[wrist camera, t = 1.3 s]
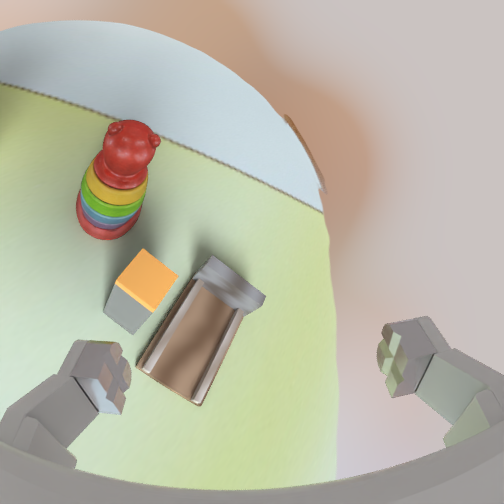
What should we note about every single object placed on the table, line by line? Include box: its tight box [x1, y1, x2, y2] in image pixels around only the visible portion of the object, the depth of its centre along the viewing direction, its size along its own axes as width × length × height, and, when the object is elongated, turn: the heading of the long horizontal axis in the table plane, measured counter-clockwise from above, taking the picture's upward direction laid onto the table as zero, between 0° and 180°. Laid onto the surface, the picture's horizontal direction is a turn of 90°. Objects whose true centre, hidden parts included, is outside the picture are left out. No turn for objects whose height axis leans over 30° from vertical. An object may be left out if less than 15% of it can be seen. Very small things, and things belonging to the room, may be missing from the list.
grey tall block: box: [103, 248, 178, 335], centre depth 34 cm, size 5×5×11 cm
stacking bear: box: [76, 120, 161, 240], centre depth 36 cm, size 11×10×18 cm
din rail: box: [136, 255, 266, 406], centre depth 40 cm, size 10×18×6 cm, turn 156°
